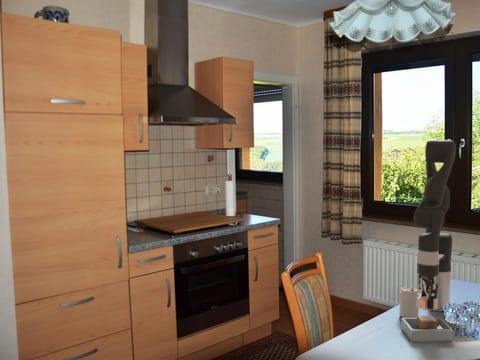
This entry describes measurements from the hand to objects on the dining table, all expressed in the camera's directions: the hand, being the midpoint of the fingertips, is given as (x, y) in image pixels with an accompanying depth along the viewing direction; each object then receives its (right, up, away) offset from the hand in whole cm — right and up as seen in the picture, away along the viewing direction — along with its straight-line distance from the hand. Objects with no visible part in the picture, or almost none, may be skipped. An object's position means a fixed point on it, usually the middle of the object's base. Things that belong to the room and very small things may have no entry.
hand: (427, 305), depth 181 cm
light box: (0, -1, 0) cm, 1 cm away
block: (0, -11, +1) cm, 11 cm away
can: (0, -10, +20) cm, 22 cm away
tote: (0, -11, +1) cm, 12 cm away
